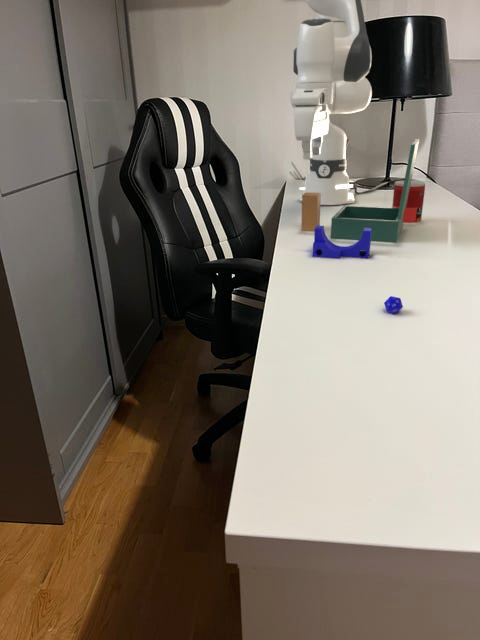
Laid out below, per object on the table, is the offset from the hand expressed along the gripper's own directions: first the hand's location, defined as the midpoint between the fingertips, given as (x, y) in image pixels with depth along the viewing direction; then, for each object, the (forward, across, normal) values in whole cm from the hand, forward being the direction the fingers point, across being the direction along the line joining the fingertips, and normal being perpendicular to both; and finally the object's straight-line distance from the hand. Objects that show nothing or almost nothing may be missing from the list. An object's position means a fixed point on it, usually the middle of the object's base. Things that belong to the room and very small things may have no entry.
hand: (312, 156), depth 125 cm
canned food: (+19, -18, +23) cm, 35 cm away
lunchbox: (+19, 0, +15) cm, 24 cm away
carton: (+19, +1, 0) cm, 19 cm away
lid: (+4, 0, +23) cm, 24 cm away
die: (+18, +50, +26) cm, 60 cm away
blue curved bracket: (+19, +20, +12) cm, 30 cm away
